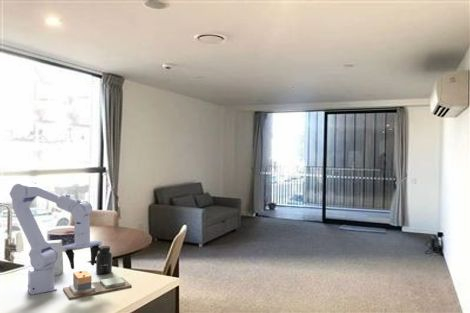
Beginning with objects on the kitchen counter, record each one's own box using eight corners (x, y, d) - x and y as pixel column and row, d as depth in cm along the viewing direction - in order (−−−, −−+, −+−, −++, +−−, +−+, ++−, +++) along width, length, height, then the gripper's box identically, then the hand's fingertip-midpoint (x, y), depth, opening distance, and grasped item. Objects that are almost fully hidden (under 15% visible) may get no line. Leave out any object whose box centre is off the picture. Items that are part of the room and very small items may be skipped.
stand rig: (69, 299, 143) (69, 294, 143) (63, 290, 153) (63, 285, 153) (131, 287, 157) (131, 282, 157) (121, 279, 166) (122, 274, 166)
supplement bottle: (102, 276, 170) (102, 249, 170) (92, 273, 174) (93, 247, 174) (115, 272, 176) (115, 246, 176) (105, 269, 180) (105, 244, 179)
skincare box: (63, 271, 177) (63, 239, 177) (60, 275, 171) (60, 242, 171) (43, 272, 175) (43, 240, 175) (40, 276, 169) (40, 243, 169)
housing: (77, 290, 147) (78, 277, 146) (73, 284, 153) (73, 271, 153) (91, 288, 149) (91, 274, 149) (86, 282, 156) (86, 269, 156)
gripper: (64, 236, 144) (65, 272, 144) (103, 231, 152) (104, 265, 152) (60, 233, 149) (61, 268, 149) (98, 229, 158) (98, 261, 158)
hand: (82, 266), depth 151 cm, fingers open, 7 cm apart
